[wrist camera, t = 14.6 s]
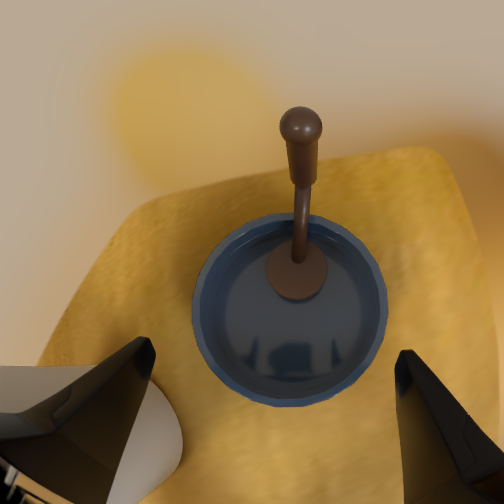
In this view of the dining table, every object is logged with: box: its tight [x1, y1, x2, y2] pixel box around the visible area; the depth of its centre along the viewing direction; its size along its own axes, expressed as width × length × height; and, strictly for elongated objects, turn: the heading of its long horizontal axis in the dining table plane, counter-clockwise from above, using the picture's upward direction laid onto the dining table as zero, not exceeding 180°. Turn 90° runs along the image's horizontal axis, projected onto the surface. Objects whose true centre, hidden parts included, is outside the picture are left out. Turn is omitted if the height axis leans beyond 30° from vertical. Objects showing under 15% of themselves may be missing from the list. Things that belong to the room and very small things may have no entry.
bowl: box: [192, 213, 388, 407], centre depth 20 cm, size 13×13×4 cm
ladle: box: [266, 107, 327, 301], centre depth 17 cm, size 8×4×12 cm, turn 170°
